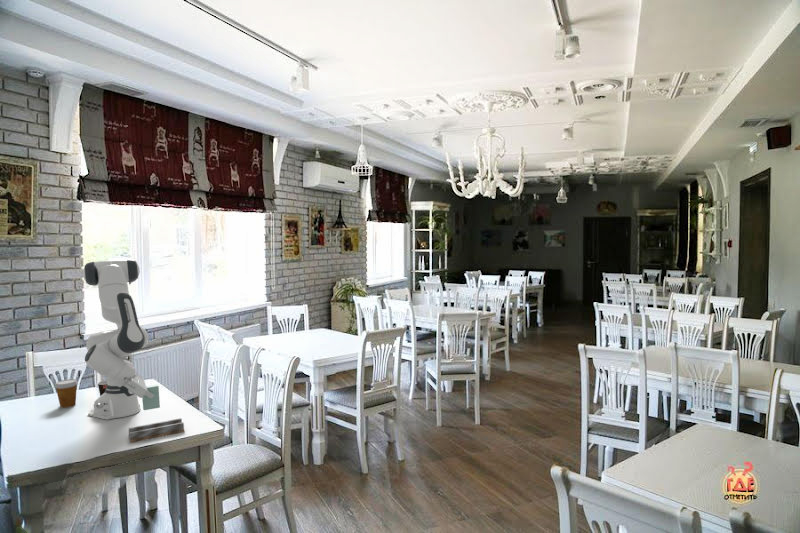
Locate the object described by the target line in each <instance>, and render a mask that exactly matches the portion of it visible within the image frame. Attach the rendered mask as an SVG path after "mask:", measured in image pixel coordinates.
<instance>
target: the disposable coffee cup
mask: <svg viewBox="0 0 800 533" xmlns="http://www.w3.org/2000/svg"><path fill="white" fill-rule="evenodd" d="M78 384H79V383H78V380H77V379H76V378H71V379H69V378H68V379H63V380H59V381H56V382H55V384H54V388H55V389H56V390H55V391H56V395H57V398H58V403H59V407H60V408H61V407H63V408H62V409H65V408H66V409H67V408H71V407H73V406H74V407H75V406H76V401H77V389H78V388H77V387H78Z"/></svg>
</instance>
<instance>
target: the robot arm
mask: <svg viewBox="0 0 800 533" xmlns="http://www.w3.org/2000/svg"><path fill="white" fill-rule="evenodd" d="M140 269H141V268H140V266H139V263H138V262H137V261H136V260H135V259H132V258H126V259H122V258H111V259H107V260H106V259H105V260H100V261H98V260H97V261H90V262H86V264H85V265H84V267H83V270H82V278H83V280H84V281H85V283H86V284H87V285H89V286H95V287H98V298H99V301H100V307H101V316H102V318H103V319H104V320H105V321H107V322H110V323H113V324H114V323H115V324H114V325H116V326H117V327H116V329H112V330H111V329H110V330H105V331H99V332H96V333H93V334H91V335H90V336H88V339H87V341H86V344H85V345H86V349H87V351H86V354H85V356H84V361H85V362H84V363H86V365H87V366H89V368H91V369H92V370H93V371H95V372H96V373H97V374H99V375H101V376H104V377H105V378H106V380H107V383H108V384H107V385H105V387H104V386H103V387H104V388H106V389H105V393H104V394H102V395H101V396H100V395H99V397H97V399H95V400H94V403H93V409H92V410H91V411H89V412H88V413H87V416H89V417H94V418H98V419H102V420H112V419H119V418H125V417H130V416H133V415H135V414H137V413H139V412H140V411H141V404H140V403H139V399H138V397H139V398H140V399H143V398H142V397H143V396H144V395H145V396H148V397H149V398H153V397H154V394H153V393H152V392H150V391H148V390H147V387H146V386H147V385H146V382H145V379H144V378H143V377H142V376H141V375H140V374H138V372H136V368H135V366H134V365H133V363H132V362H130V361H129V360H126V359H125V358H127V357H129V356H130V355H132V354H133V353H135V352H137V351H139V350H141V349H144V348H145V347H146V346H147V345H148V343H149V332H147V330H146V329H145V328H144V327H142V326H140V323H139V319H138V315H137V310H136V306H135V303H134V300H133V298H132V295H131V294H130V293H129V292H130V291H129V285H131V284H132V283H134V282H136V281H137V279H139V275H140V272H141V271H140Z"/></svg>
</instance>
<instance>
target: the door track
mask: <svg viewBox="0 0 800 533" xmlns="http://www.w3.org/2000/svg"><path fill="white" fill-rule="evenodd" d="M184 424H185V423H184V421H182V418H181V417H179V418H175V419H170V420H164V421H159V422H154V423H148V424H143V425H138V426H134V427H128V437H129V438H128V439H129V443H130V444H132V443H138V442H142V441H146V440H147V439H148V440H152V438H153V439H156V438H162V437H165V436H166V435H167V436H171V435H177V434H181V433H185V425H184ZM167 436H166V437H167Z"/></svg>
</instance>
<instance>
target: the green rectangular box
mask: <svg viewBox="0 0 800 533" xmlns="http://www.w3.org/2000/svg"><path fill="white" fill-rule="evenodd" d="M159 386H160V385H159V384H153V385H152V384H151V385H146V387H147V390H148V391H150V392H152V393H153V394H154V397H153V398H149V397H148V396H145V395H144V396H143V397H142V398H141V399H142V409H143V411H148V410H153V409H159V408H161V407H160V406H161V405H160V387H159Z"/></svg>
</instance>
